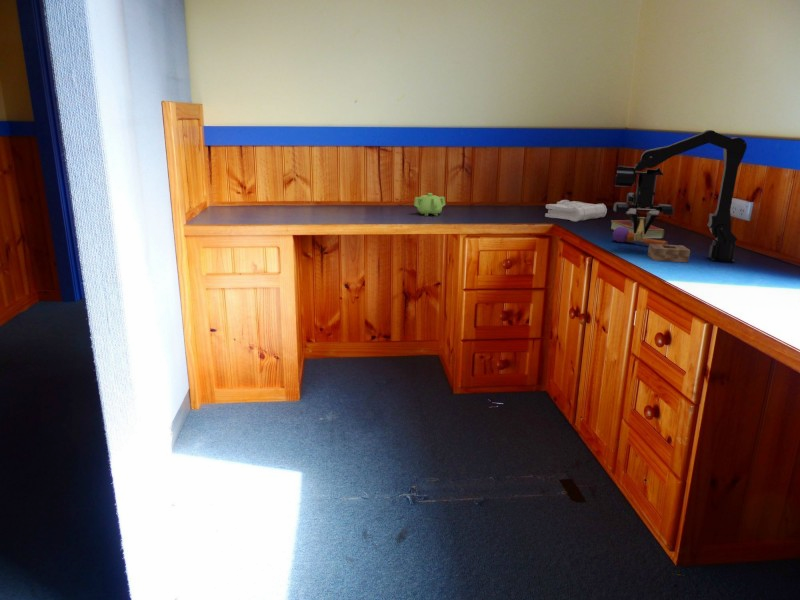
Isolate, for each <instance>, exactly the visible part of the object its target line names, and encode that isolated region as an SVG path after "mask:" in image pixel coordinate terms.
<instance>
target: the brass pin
mask: <svg viewBox="0 0 800 600" xmlns="http://www.w3.org/2000/svg"><path fill="white" fill-rule="evenodd" d="M646 219H647V217H644V216H637V229H636V233H635V237H634V241H633V242H639V243H640V242H641V243H643V242H642V241H643V239H644V232H645V225H646Z"/></svg>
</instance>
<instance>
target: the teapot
mask: <svg viewBox="0 0 800 600" xmlns="http://www.w3.org/2000/svg"><path fill="white" fill-rule="evenodd" d="M413 206H414V207H416V209H417V211H418V213H420V215H423V216H424V217H429V216H430V215H433V216H436V217H438V216H439V215H438V214H441V213H442V211H443V210H442V209H443V207H444V206H446V198H445V196H438V195H433V192H427V194H426V195H425V194H423V195H420V196H415V197H414V202H413Z"/></svg>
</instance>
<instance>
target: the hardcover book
mask: <svg viewBox="0 0 800 600" xmlns="http://www.w3.org/2000/svg"><path fill="white" fill-rule="evenodd" d="M610 222H611V227H610V229H611V230H613V231H614V230H615V229H616V228H618V227H625V228H627V229H628V230H629V232H630V231H631V232H633V233H634V231H633V227H632V222H631V219H630V220H629V219H628V220H627V219H625V220H621V219H619V220H618V219H617V220H616V219H615V220H612V219H611V220H610ZM634 234H635V233H634ZM664 236H665V229H663V228H660V227H657V226H654V225H652V224H651V225H650V227H649V229H648V231H647V232H646V234H644V238H646V239H663V238H664Z"/></svg>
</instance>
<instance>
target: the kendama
mask: <svg viewBox="0 0 800 600" xmlns="http://www.w3.org/2000/svg"><path fill="white" fill-rule="evenodd" d="M634 237H635V234H634V233H633V232H631V231H630V232H629V230H628V229H627V228H625V227H618V228H616V229H615V230H613V233H612V238H613V240H614V241H615V242H617V243H625V242H626V243H630V242H631V243H632V242H635V241H634ZM641 243H644V244H646V245H648V246H649V244H663V245H668V241H666V240H661V239H654V238H644V239H643V241H642V242H641Z"/></svg>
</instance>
